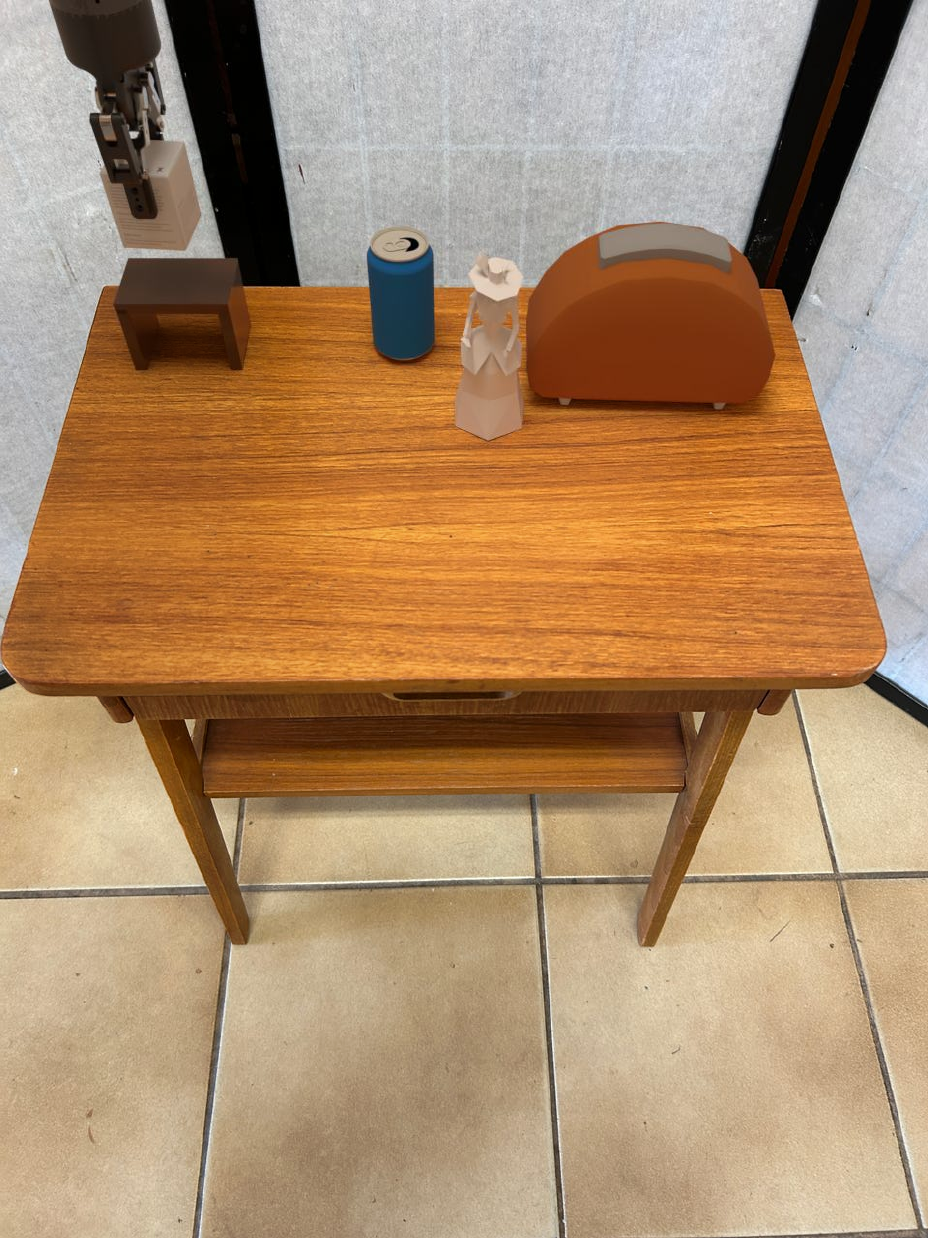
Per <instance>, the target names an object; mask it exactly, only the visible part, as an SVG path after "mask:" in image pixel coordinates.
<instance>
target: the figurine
mask: <svg viewBox="0 0 928 1238" xmlns="http://www.w3.org/2000/svg"><path fill="white" fill-rule="evenodd" d="M467 275H468V277H469V280H470V281H471V283H472V284H473V286H474V289H475V290H473V291H472V293H470V295H469V305H468V311H467V314H466V320H465V323H464V329H463V334H462V337H461V338H460V339H459V340H460V341H461V342H460V356H461V357H460V359H461V365H462V366H463V370H462V374H461V376H460V381H459V384H458V388H457V391H456V395H455V398H454V426H455V427H456V428H458V429H460V430H463V431H464V432H465V431H466V432H468V433H470V434H472V435H474V436H476V437H479V438H481V439H483V440H486V441H487V442H488V441H491V440H494V439H497V438H499V437H502V436H505V435H508V434H510V433H513V432H517V431H519V430H521V429H523V421H524V407H525V402H524V397H523V390H522V388H521V387H522V386H521V381H520V376H519V368H520V367H521V366H522V365H521V364H522V357H523V356H522V355H523V343H522V342H521V340H520V339H519V337H518V335H519V332H520V329H521V324H520V312H519V297H518V294H519V291H520V289H521V286H522V283H523V280H524V276H523V274H522V273H521V271H520V269H519V268H518V266H517V264H516V263H515V261H513V260H509V259H505V258H500V257H497V256H494V257H491V258H488V257H487V256H486V255H484V254H483V253H482V252H480V251H478V253H477V257H476V261H475V264H474V266H473V267H472V269H471V270H470V271H469V272H468V273H467ZM476 313H477V314H478V320H479V321H481V322H482V325H478V326H476V327H474V328H472V325H473V320H474V319H475V315H476ZM509 313H510V318H511V321H512V329H511V328H509V327H507V326H504V325H503V324H504V323H505V322H506V319H507V316H508V314H509Z"/></svg>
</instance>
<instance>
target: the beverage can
mask: <svg viewBox="0 0 928 1238" xmlns="http://www.w3.org/2000/svg"><path fill="white" fill-rule="evenodd" d="M434 255H435V254H434V250H433V247H432V246H431V244H430V241H429V238H428V236H427V235H426V234H425V233H424V232H423V231H421V230H419V229H418V228H415V227H412V226H405V225H394V226H389V227H385V228H383V229H381V230H379V231H377V232H375V233H374V234H373V235H372V236H371V238H370V241H369V247H368V248H367V251H366V265H367V278H368V290H369V300H370V302H369V303H370V314H371V315H370V317H371V328H372V329H371V330H372V342H373V346H374V347H375V349H376V350H377V351H378V352H379V353H380V354H382V355H384V356H386V357H388V358H390V359H393V360H397V361H411V360H416V359H418V358H420V357H422V356H423V355H426V354H427V353H428V352H430V351H431V349H432V348H433V346H434V344H435V342H436V324H435V323H436V320H435V313H436V312H435V261H434V260H435V259H434V257H435V256H434Z"/></svg>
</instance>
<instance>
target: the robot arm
mask: <svg viewBox="0 0 928 1238" xmlns="http://www.w3.org/2000/svg"><path fill="white" fill-rule="evenodd" d="M48 2H49V5H50V9H51V12H52V16H53V18H54V19H53V20H54V22H55V25H56V29H57V32H58V35H59V38H60V42H61V44H62V48H63V51H64V54H65V57H66V59H67V60H68V61H69V63H70V64H72V66H74V67H76V68H77V69H79V70H82V71H85V72H86V73H88V74H89V75H91V76H92V77H93V78H94V79H95V86H94V98H95V105H96V108H97V109H98V110H99V112H89V116H88V122H89V125H90V127H91V130H92V133H93V136H94V139H95V143H96V145H97V147H98V148H97V149H98V150H99V154H100V156H101V159H102V162H103V166H104V165H105V168H106V171H107V174H108V177H109V179H110V182H111V183H112V184H123V186H124V190H125V193H126V197H127V200H128V204H129V207H130V210H131V214H132V216H133V217H134V218H136V219H155V218H156V217H157V214H158V208H157V204H156V201H155V197H154V193H153V189H152V185H151V182H150V178H149V171H148V167H147V160H146V149H147V148H149V146H150V140H160V141H165V138H164V134H163V133H164V131H165V122H164V119H163V117H162V116H166V113H167V105H166V103H165V99H164V93H163V89H162V85H161V79H160V75H159V69H158V66H157V60H156V59H157V58H158V56H159V54H160V52H161V50H162V40H161V35H160V31H159V28H158V23H157V18H156V14H155V9H154V5H153V1H152V0H48ZM130 132H132V133H133V132H135V133H137V135H136V137H135V138H134V137H133V138H132V137H131V134H130ZM135 151H136V153H135ZM123 159H124V160H126V161H127V162H128V164H124V160H123Z"/></svg>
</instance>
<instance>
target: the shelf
mask: <svg viewBox="0 0 928 1238" xmlns="http://www.w3.org/2000/svg"><path fill="white" fill-rule="evenodd" d="M112 304H113V307H114V311H115V313H116V316H117V320H118V322H119V325H120V328H121V331H122V334H123V337H124V339H125V343H126V346H127V349H128V351H129V354H130V358H131V361H132V363H133V366H134V370H136V371H143V370H144V371H146V370H148V367H149V363H150V359H151V355H152V352H153V348H154V345H155V341H156V339H157V338H156V337H157V334H158V330H159V327H160V322H159V318H158V315H217V316H218V320H219V325H220V329H221V332H222V337H223V342H224V345H225V350H226V354H227V358H228V362H229V367H230V370H233V371H235V370H236V371H237V370H238V371H240V370H241V371H242V370H243V368H244V363H245V358H246V352H247V346H248V341H249V336H250V331H251V326H252V322H251V318H250V314H249V309H248V303H247V297H246V294H245V288H244V284H243V278H242V273H241V269H240V264H239V259H238V257H128V258H127V259H126V263H125V266H124V268H123V273H122V276H121V279H120V282H119V285H118V288H117V291H116V294H115V297H114V300H113V303H112Z"/></svg>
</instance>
